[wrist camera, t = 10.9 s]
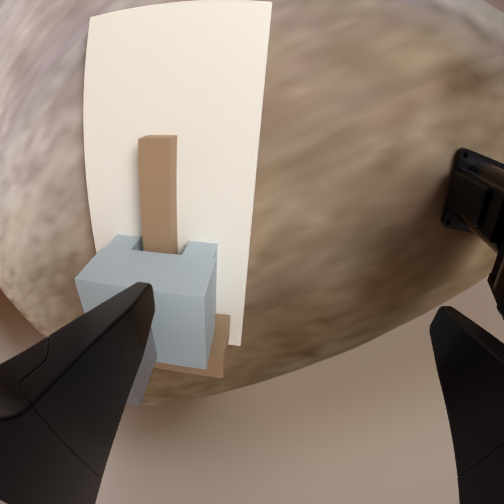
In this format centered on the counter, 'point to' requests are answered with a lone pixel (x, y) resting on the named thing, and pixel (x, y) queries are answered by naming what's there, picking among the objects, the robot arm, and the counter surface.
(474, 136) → the counter surface
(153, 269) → the cabinet block
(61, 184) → the counter surface
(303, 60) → the counter surface
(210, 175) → the mounting board
